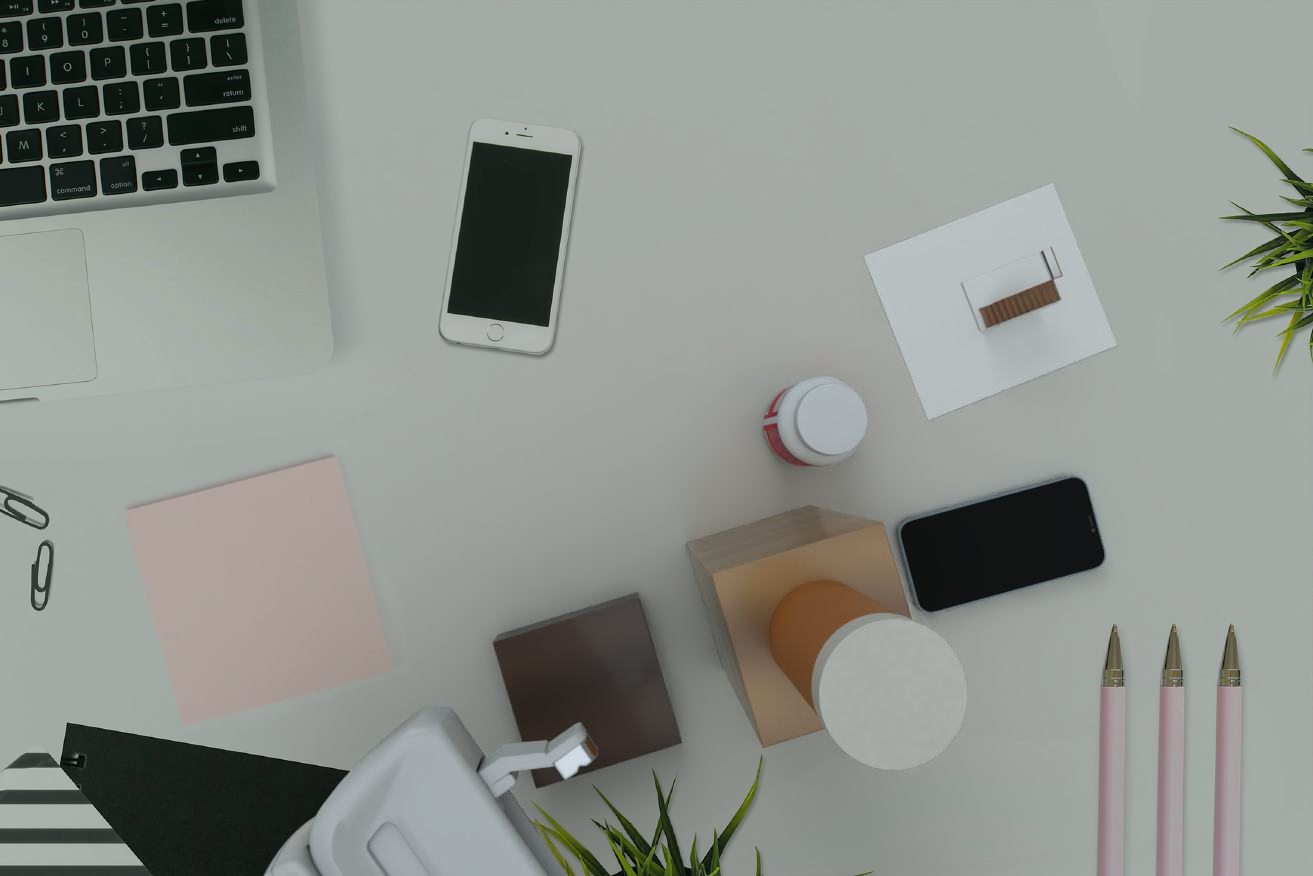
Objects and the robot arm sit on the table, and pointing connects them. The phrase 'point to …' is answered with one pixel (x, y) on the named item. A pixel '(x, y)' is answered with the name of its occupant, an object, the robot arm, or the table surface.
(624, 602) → the walnut block
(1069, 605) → the table surface
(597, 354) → the table surface
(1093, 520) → the smartphone
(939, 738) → the amber bottle
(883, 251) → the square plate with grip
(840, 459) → the pill bottle
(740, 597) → the oak stand
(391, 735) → the robot arm
